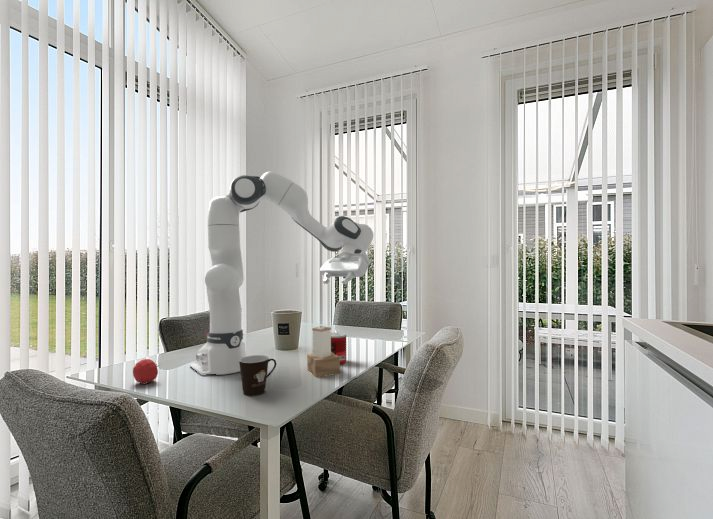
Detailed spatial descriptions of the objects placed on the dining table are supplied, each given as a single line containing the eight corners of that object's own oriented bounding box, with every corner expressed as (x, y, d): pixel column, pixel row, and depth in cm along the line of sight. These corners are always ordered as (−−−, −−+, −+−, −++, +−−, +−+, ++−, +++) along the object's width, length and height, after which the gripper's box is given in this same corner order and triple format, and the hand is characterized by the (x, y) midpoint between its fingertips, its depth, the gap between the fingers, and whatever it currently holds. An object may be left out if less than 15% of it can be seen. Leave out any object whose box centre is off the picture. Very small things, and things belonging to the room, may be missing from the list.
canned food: (347, 359, 143) (347, 332, 143) (345, 365, 135) (344, 336, 135) (328, 359, 144) (328, 332, 144) (325, 365, 136) (324, 336, 136)
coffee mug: (240, 399, 102) (240, 364, 102) (237, 389, 110) (237, 357, 110) (281, 393, 107) (281, 359, 107) (275, 384, 115) (275, 353, 115)
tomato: (132, 359, 114) (156, 350, 120) (126, 371, 118) (150, 361, 124) (143, 381, 112) (167, 370, 118) (137, 391, 116) (160, 380, 122)
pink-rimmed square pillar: (312, 356, 127) (312, 328, 127) (322, 353, 131) (321, 326, 131) (321, 358, 124) (321, 329, 124) (331, 355, 128) (330, 327, 128)
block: (307, 370, 130) (307, 354, 130) (330, 367, 134) (330, 351, 134) (315, 377, 122) (315, 360, 122) (339, 374, 126) (339, 356, 126)
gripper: (326, 252, 146) (310, 276, 138) (367, 250, 133) (351, 277, 125) (334, 263, 149) (318, 287, 141) (374, 262, 137) (359, 289, 129)
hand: (334, 283), depth 133 cm, fingers open, 8 cm apart
